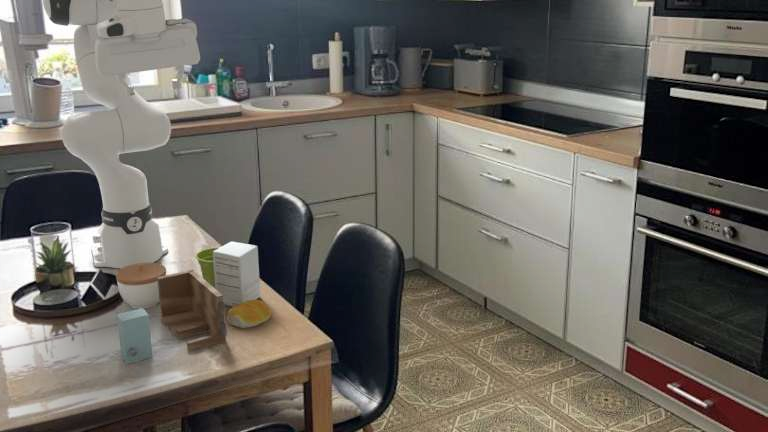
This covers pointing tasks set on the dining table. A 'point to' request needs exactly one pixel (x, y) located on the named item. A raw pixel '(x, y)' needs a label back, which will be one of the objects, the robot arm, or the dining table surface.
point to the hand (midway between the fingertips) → (154, 91)
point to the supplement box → (237, 273)
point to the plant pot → (207, 264)
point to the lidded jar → (140, 284)
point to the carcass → (192, 308)
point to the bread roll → (248, 314)
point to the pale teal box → (134, 335)
